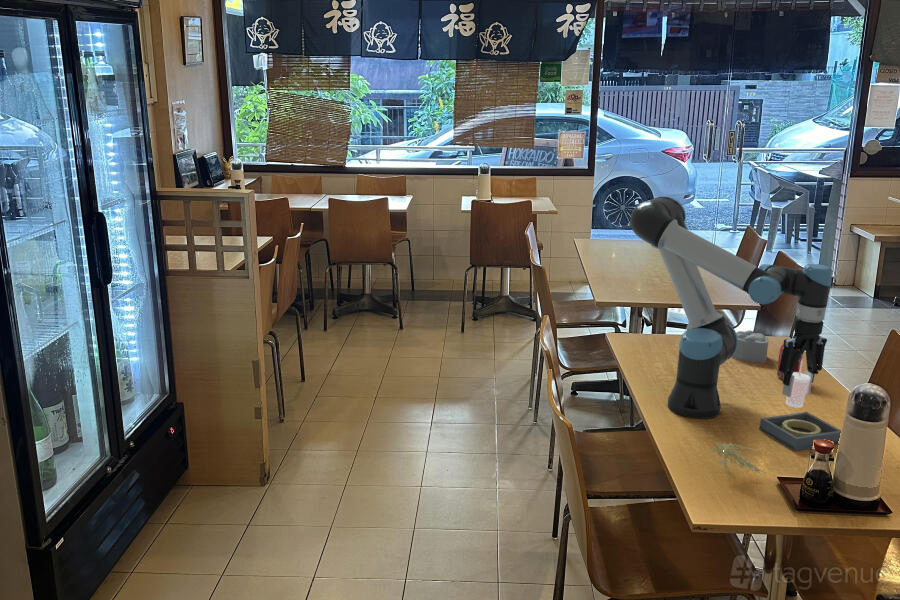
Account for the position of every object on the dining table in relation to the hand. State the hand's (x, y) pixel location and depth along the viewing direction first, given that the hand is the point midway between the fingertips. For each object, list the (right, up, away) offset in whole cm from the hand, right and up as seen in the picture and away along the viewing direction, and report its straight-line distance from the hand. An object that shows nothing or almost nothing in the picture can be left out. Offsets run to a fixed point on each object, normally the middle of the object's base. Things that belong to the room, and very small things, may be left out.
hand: (795, 393), depth 237 cm
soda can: (+11, +1, +32) cm, 33 cm away
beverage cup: (0, -3, +1) cm, 4 cm away
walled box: (-4, -10, -12) cm, 17 cm away
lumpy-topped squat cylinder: (+4, +7, +52) cm, 53 cm away
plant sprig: (-29, -16, -35) cm, 48 cm away
